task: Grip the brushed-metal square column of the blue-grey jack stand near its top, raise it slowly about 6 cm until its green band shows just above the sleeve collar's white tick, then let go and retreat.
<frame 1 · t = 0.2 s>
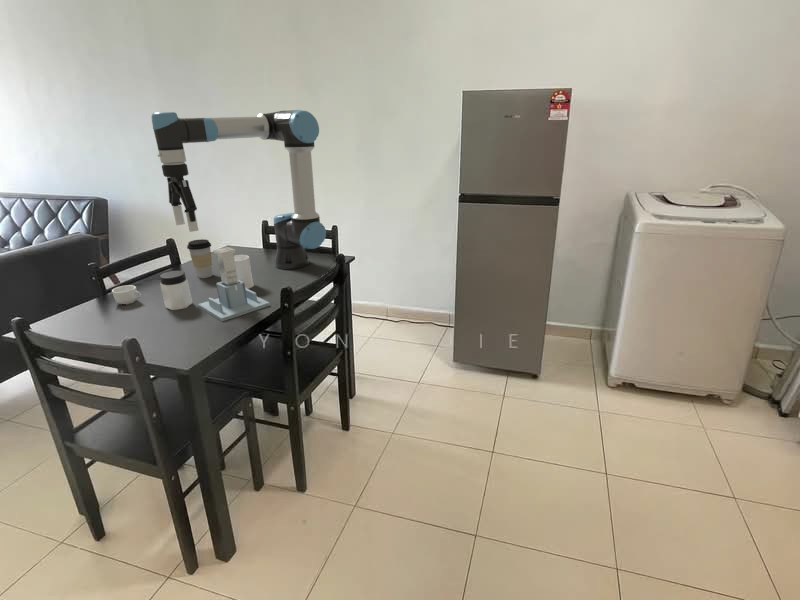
hand: (187, 227, 156), 28 cm above the table, fingers open, 13 cm apart
teacup: (130, 303, 168), on the table
stand base: (234, 306, 162), on the table
coffee cup: (205, 276, 194), on the table
column: (229, 276, 158), point 11 cm above the table, slide at 0.0 cm
mug: (240, 288, 180), on the table
jar: (179, 306, 164), on the table
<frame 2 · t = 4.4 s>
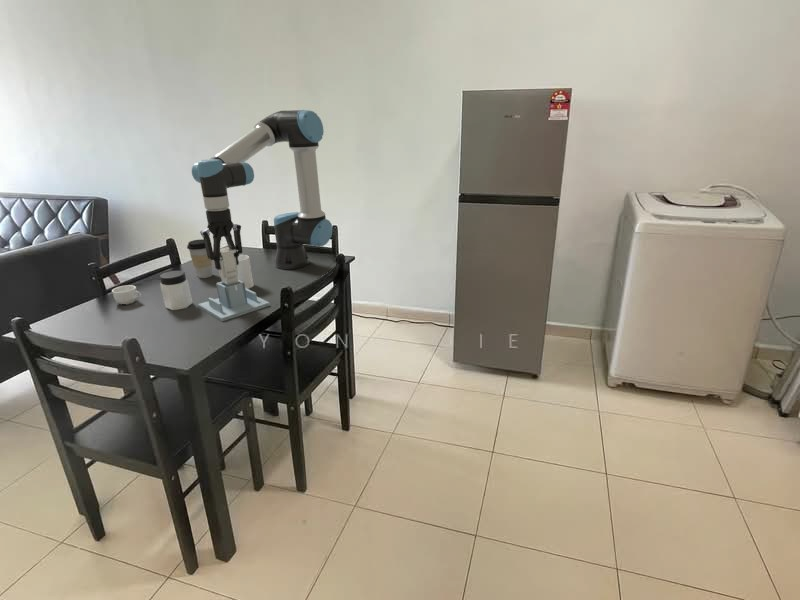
hand: (229, 275, 158), 12 cm above the table, fingers closed on column, 4 cm apart
column: (229, 276, 158), point 11 cm above the table, slide at 0.0 cm, touching gripper
everything else where it was.
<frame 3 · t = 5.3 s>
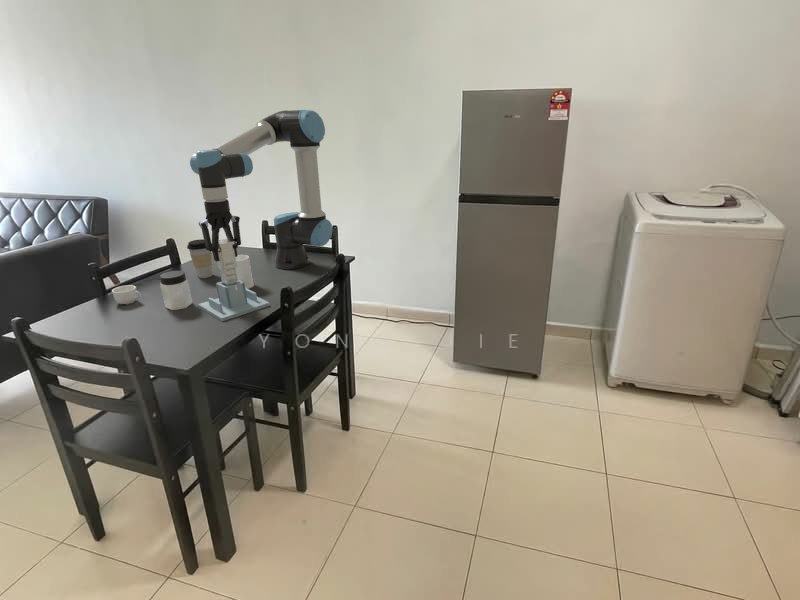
hand: (227, 267, 157), 15 cm above the table, fingers closed on column, 4 cm apart
column: (227, 268, 157), point 14 cm above the table, slide at 2.9 cm, touching gripper
everything else where it was.
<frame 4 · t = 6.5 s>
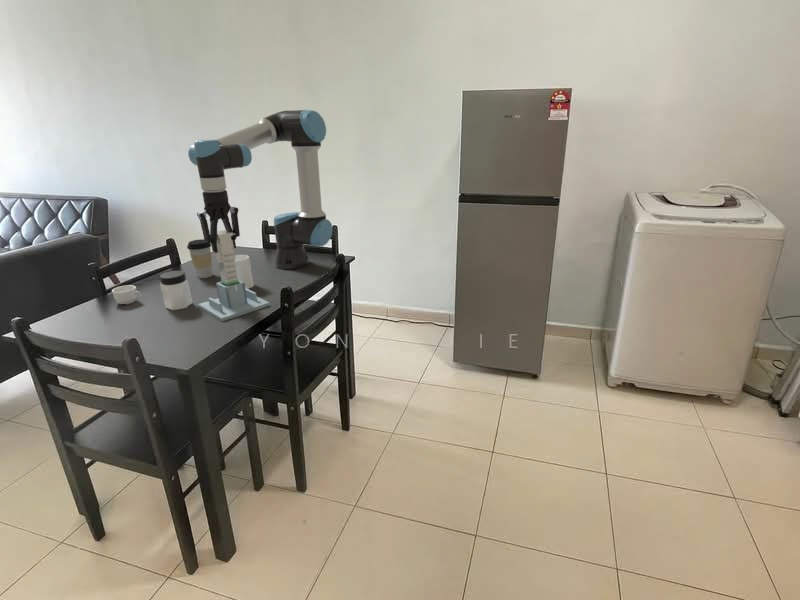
hand: (226, 259, 156), 18 cm above the table, fingers closed on column, 4 cm apart
column: (226, 260, 156), point 17 cm above the table, slide at 6.0 cm, touching gripper
everything else where it was.
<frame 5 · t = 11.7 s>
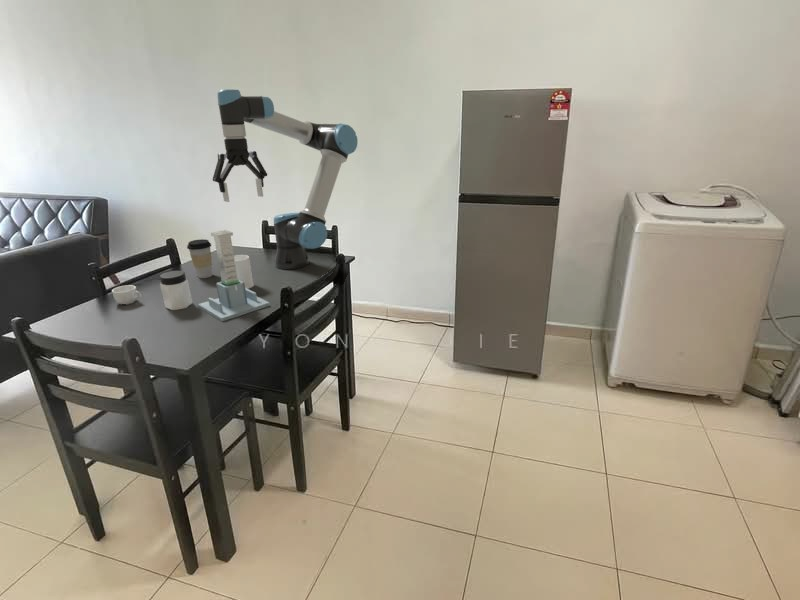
hand: (244, 198, 167), 35 cm above the table, fingers open, 13 cm apart
column: (226, 260, 156), point 17 cm above the table, slide at 6.0 cm
everything else where it was.
at the end: column slide at 6.0 cm; the gripper is holding nothing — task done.
